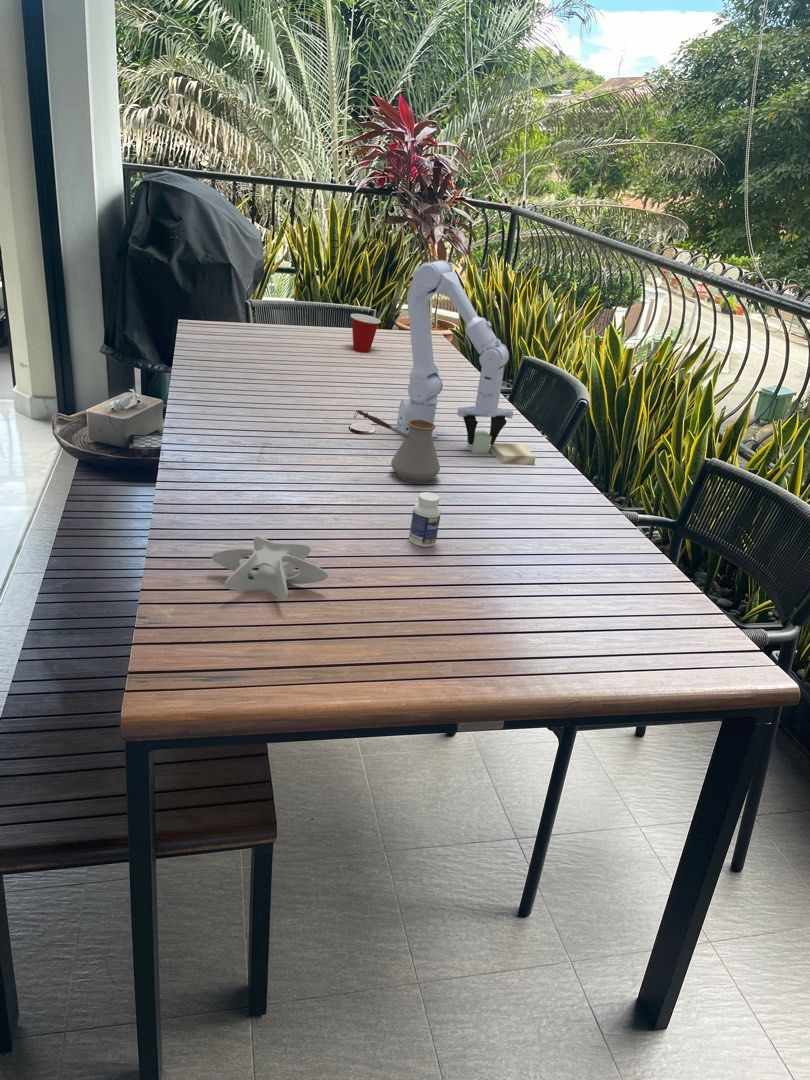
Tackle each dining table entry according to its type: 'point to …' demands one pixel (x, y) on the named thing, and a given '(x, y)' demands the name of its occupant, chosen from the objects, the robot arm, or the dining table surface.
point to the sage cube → (480, 442)
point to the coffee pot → (413, 451)
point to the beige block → (512, 453)
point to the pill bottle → (425, 520)
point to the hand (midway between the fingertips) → (480, 443)
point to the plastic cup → (363, 331)
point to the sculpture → (269, 567)
